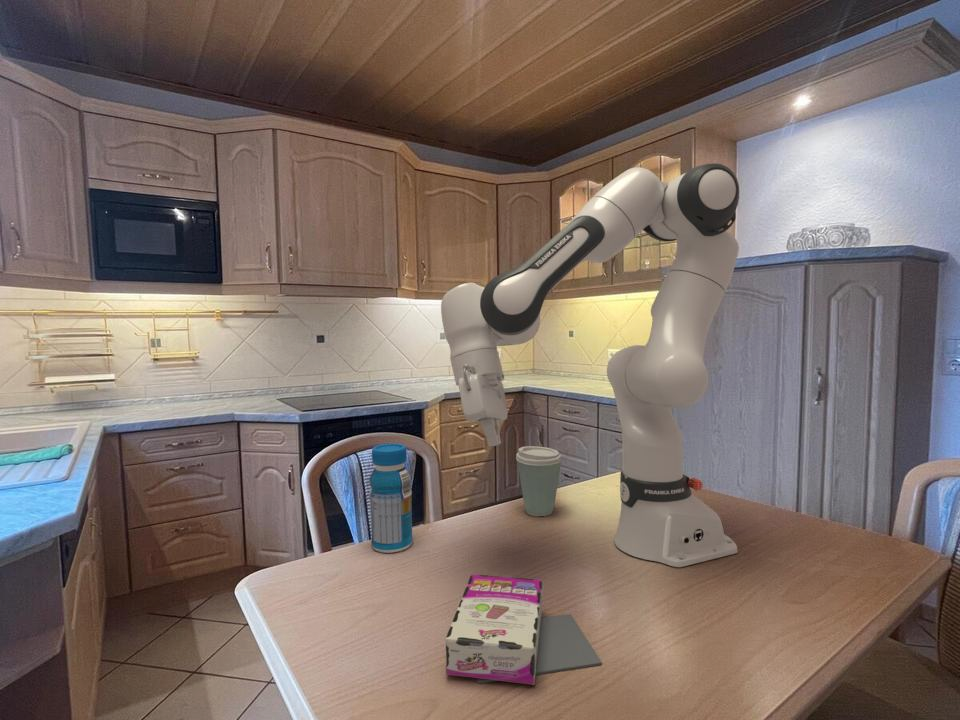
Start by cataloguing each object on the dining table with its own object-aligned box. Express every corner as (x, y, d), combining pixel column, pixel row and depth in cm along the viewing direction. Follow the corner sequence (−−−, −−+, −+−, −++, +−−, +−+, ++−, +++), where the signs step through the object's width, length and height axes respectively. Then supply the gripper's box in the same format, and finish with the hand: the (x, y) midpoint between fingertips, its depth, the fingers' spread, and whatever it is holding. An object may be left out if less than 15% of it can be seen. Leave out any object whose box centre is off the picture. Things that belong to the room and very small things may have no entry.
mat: (570, 615, 73) (570, 613, 73) (602, 664, 63) (602, 662, 63) (464, 629, 71) (464, 627, 70) (478, 683, 60) (478, 681, 60)
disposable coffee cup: (550, 501, 122) (549, 442, 121) (571, 517, 112) (570, 452, 111) (510, 507, 119) (508, 446, 118) (528, 524, 108) (527, 456, 107)
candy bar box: (471, 604, 77) (443, 676, 61) (470, 572, 76) (442, 637, 60) (543, 611, 74) (534, 687, 58) (543, 578, 74) (534, 647, 58)
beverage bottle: (377, 558, 93) (373, 454, 92) (366, 541, 101) (362, 445, 100) (419, 548, 97) (416, 448, 96) (405, 533, 105) (402, 440, 104)
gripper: (480, 358, 79) (500, 443, 77) (504, 372, 99) (521, 440, 96) (444, 368, 81) (462, 452, 78) (474, 380, 100) (490, 447, 98)
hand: (495, 445), depth 87 cm, fingers closed
